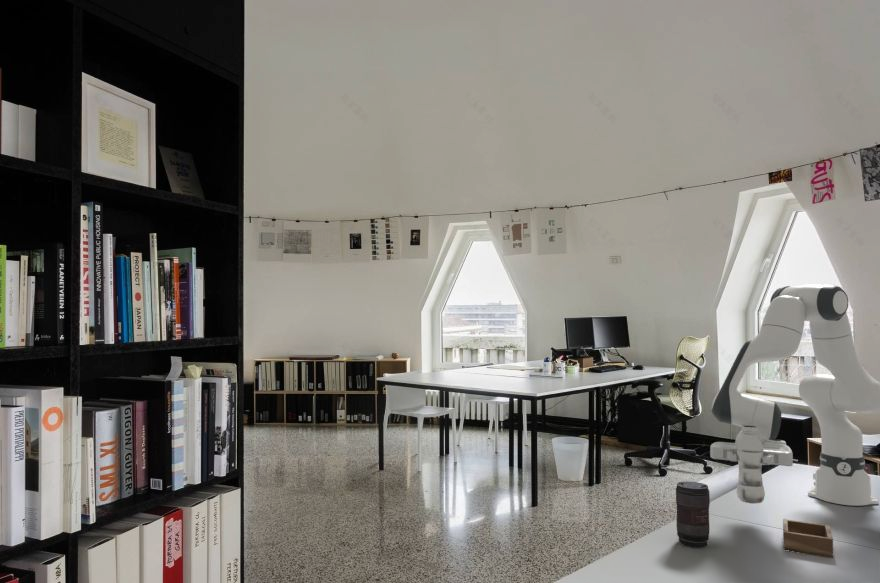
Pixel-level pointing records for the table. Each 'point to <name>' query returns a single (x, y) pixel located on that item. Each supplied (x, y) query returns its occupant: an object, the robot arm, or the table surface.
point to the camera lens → (692, 514)
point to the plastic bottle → (750, 466)
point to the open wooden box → (807, 538)
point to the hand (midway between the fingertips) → (749, 460)
